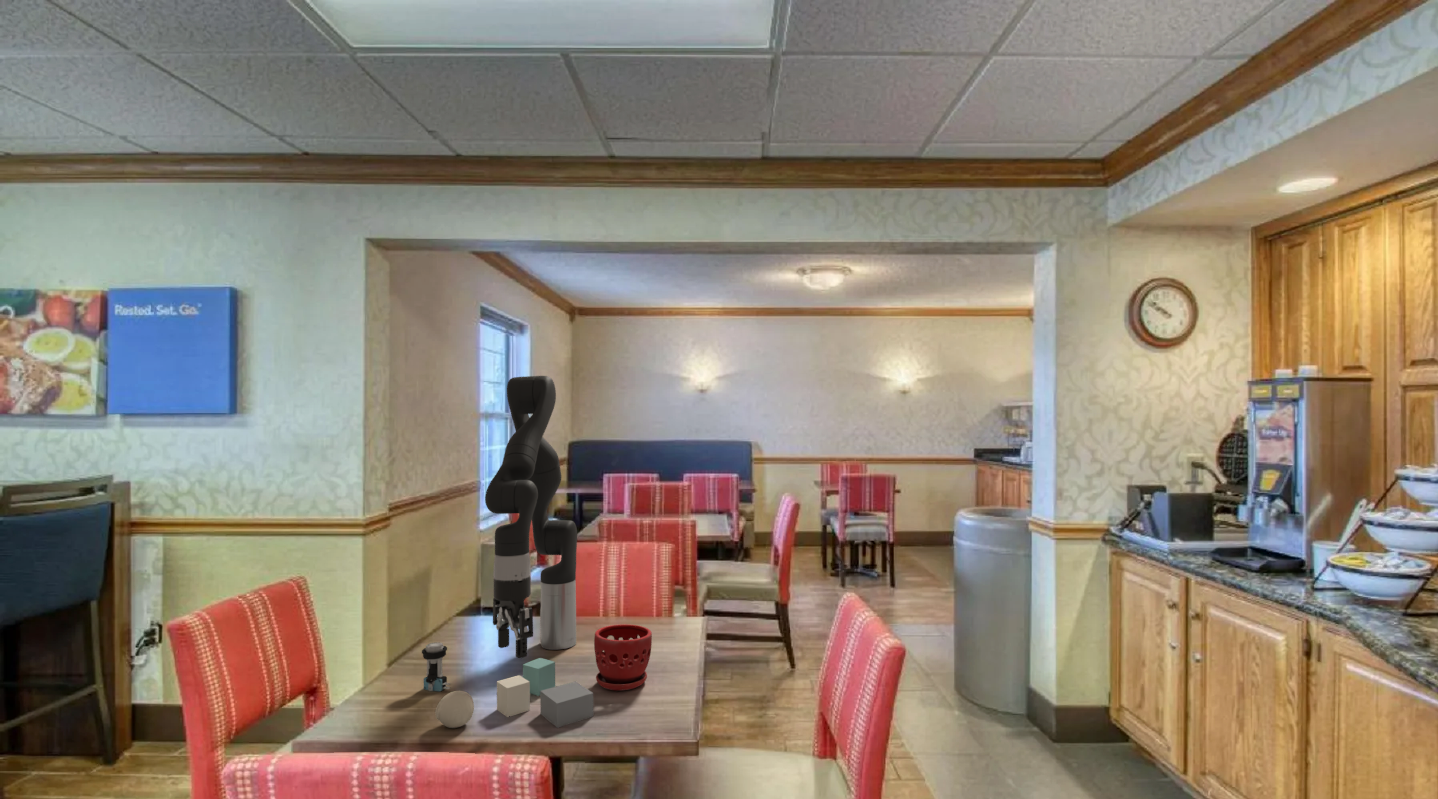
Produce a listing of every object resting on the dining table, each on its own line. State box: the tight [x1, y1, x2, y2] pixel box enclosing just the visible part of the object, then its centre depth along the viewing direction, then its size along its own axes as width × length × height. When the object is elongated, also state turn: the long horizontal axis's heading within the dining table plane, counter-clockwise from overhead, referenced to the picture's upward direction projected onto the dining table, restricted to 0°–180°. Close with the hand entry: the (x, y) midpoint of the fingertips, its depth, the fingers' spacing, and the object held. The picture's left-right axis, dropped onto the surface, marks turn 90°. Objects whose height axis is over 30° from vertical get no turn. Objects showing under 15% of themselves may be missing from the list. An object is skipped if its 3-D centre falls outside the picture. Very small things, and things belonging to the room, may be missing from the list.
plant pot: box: [593, 623, 653, 691], centre depth 161 cm, size 13×13×12 cm
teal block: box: [522, 657, 556, 697], centre depth 158 cm, size 5×5×6 cm
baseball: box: [434, 690, 475, 729], centre depth 140 cm, size 7×7×7 cm
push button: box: [421, 641, 452, 692], centre depth 158 cm, size 7×5×10 cm
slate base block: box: [539, 680, 594, 729], centre depth 144 cm, size 8×8×5 cm
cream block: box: [496, 674, 531, 718], centre depth 147 cm, size 5×5×6 cm
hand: (512, 652), depth 147 cm, fingers open, 8 cm apart
